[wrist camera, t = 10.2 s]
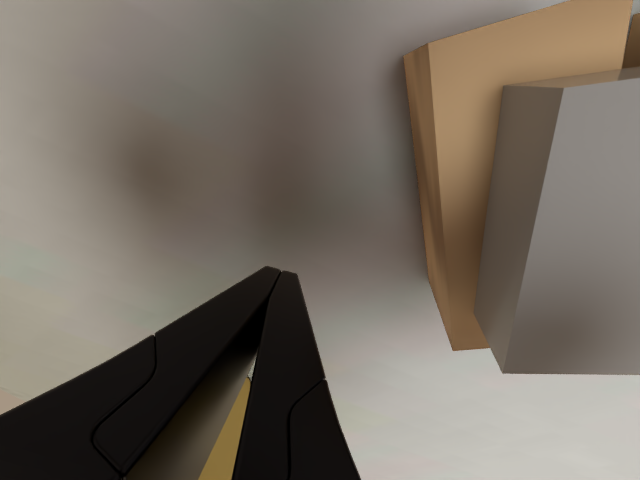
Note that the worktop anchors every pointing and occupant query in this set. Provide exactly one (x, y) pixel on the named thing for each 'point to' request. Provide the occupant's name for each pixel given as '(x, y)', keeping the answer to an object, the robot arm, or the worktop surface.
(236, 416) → the cheese
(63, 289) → the worktop surface
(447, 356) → the worktop surface
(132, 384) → the robot arm
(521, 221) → the slab
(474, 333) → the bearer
